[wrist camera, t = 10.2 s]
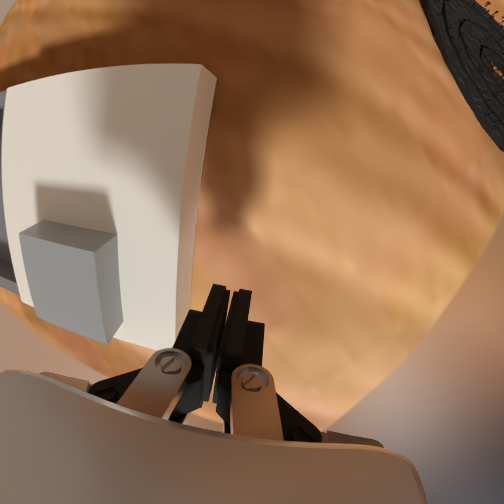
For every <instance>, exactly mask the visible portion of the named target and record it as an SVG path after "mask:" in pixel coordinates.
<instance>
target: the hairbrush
mask: <svg viewBox="0 0 504 504" xmlns="http://www.w3.org/2000/svg"><path fill="white" fill-rule="evenodd" d="M422 3H423V5H424V8H425V11H426V15H427V18H428V21H429V25H430V28H431V31H432V34H433V30H434V33H435V35H436V38H437V41H438V44H439V46H438V44H437V42H436V39H435V37H434V34H433V37H434V40H435V42H436V44H437V46H438V48H439V47H440V48H439V50H440V52H441V54H442V57H443V59H444V61H445V63H446V65H447V67H448V68H449V70H450V72H451V74H452V76H453V77H454V79H455V81H456V83H457V85H458V87H459V89H460V91H461V93H462V95H463V96H464V98H465V100H466V102H467V103H468V105H469V106H470V108H471V109H472V111H473V112H474V114H475V115H476V116H475V117H476V118H477V120H478V121H479V123H480V124H481V126H482V127H483V129H484V130H485V131H486V133H487V134H488V135H489V136H490V137H491V139H492V140H493V141H494V142H495V144H496V145H497V146H498V147H499V149H500V150H501V151H503V152H504V81H503V80H502V79H501V78H503V77H504V76H500V77H498V76H497V75H496V74H495V72H494V71H496V70H498V69H499V70H500V71H501V72H502V73H503V75H504V29H503V28H504V26H503V25H499V24H500V23H499V24H498V22H497V21H496V20H495V19H494V15H493V14H492V15H493V16H492V15H490V14H489V13H488V12H490V11H489V10H487V11H486V8H483V7H482V6H480V5H479V4H478V3H477V2H476V1H475V0H445V1H444V3H443V0H422ZM487 3H488V4H487V5H490V4H491V3H490V2H489V1H487ZM484 5H485V4H484ZM487 5H486V6H487ZM484 7H485V6H484ZM498 12H499V11H496V12H495V13H498ZM495 13H494V14H495ZM503 18H504V17H503V16H502V19H503ZM460 20H461V21H460ZM463 20H464V22H463ZM460 22H462V23H461V24H460V25H459V23H460ZM502 22H504V21H502ZM502 22H501V23H502ZM501 26H502V27H501ZM432 27H433V30H432ZM480 46H484V47H483V48H481V49H480ZM491 62H492V63H493V65H492V63H491ZM494 66H495V67H496V68H497V69H496V70H494V69H493V67H494ZM502 73H501V74H502Z"/></svg>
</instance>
